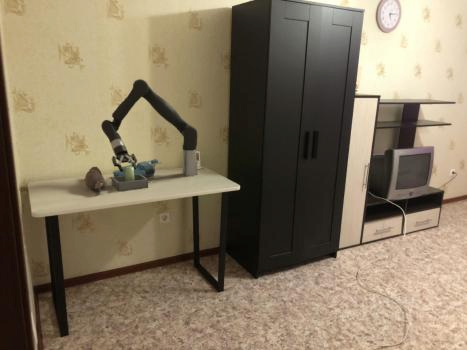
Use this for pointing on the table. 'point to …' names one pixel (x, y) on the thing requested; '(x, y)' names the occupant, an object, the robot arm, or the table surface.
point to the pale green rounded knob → (129, 174)
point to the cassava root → (95, 179)
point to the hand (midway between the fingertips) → (129, 170)
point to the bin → (129, 183)
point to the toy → (141, 169)
